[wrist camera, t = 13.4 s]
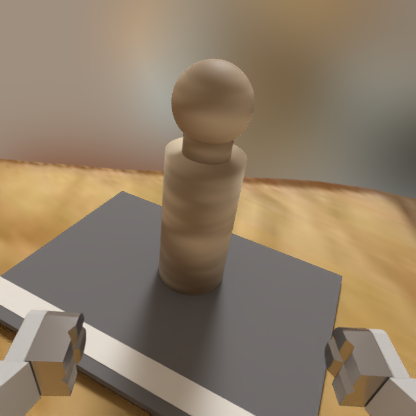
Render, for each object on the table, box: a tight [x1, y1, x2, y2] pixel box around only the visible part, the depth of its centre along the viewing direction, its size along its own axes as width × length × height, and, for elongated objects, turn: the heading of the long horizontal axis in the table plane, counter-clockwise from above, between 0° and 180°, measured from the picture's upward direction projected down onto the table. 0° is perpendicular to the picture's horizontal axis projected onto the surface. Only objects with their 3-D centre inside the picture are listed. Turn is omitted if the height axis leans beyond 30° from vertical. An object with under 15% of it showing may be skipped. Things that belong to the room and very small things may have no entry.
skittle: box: [159, 59, 254, 295], centre depth 22 cm, size 5×5×15 cm
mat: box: [0, 191, 342, 416], centre depth 25 cm, size 22×16×1 cm
